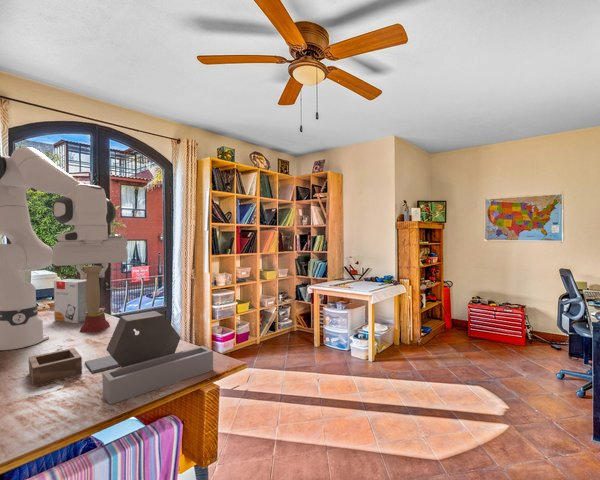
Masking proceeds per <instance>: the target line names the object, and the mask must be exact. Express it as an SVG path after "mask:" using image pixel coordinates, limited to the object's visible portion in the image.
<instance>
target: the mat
mask: <svg viewBox="0 0 600 480" xmlns="http://www.w3.org/2000/svg"><path fill="white" fill-rule="evenodd" d="M84 365H85V366H86V367H87V369H88V370H89V371H90V372H91V374H94V373H98V372H102V371H105V370H107V371H108V370H111V369H114V368H116V367H117V368H119V367H121V366H120V365H119V364H118V363H117V362H116V361H115V360H114V359H113V358H112V356H111V355H110V354H109V355H105V356H101V357H99V358H98V357H97V358H95V359H89V360H85V361H84Z"/></svg>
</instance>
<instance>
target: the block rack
mask: <svg viewBox="0 0 600 480" xmlns="http://www.w3.org/2000/svg"><path fill="white" fill-rule="evenodd" d="M212 371H214V350H212V349H211V348H208V347H206V346H204V345H200V346H196V347H194V348H189V349H186V350H182V351H177V352H175V353H174V354H170V355H167V356H163V357H159V358H155V359H152V360H148V361H144V362H141V363H137V364H133V365H129V366H126V367H117V368H115V369H112V370H111V369H110V370H107V371H104V372H102V373H101V374H102V377H101V378H102V396H103V398H104V399H105V401H106V402H107V403H108V404H109V405H113V404H116V403H119V402H123V401H125V400H127V399H132V398H135V397H137V396H140V395H143V394H146V393H149V392H152V391H155V390H158V389H161V388H163V387H164V388H165V387H167V386H170V385H172V384H176V383H179V382H182V381H185V380H187V379H191V378H194V377H197V376H200V375H203V374H205V373H208V372H212Z"/></svg>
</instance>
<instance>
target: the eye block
mask: <svg viewBox="0 0 600 480" xmlns="http://www.w3.org/2000/svg"><path fill="white" fill-rule="evenodd" d="M82 359H83V357H82V355H81V354H80V353H79V352H78V351H77V350H76V348H75V347H72V348H71V347H70V348H67V349H62V350H57V351H51V352H47V353H43V354H37V355H33V356H28V374H29V378H30V380H31V383H32V386H33V387H34V386H38V385H42V384H46V383H49V382H53V381H57V380H61V379H65V378H68V377H74V376H77V375H81V374H83V363H82V362H83V361H82Z"/></svg>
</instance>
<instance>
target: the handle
mask: <svg viewBox="0 0 600 480" xmlns="http://www.w3.org/2000/svg"><path fill="white" fill-rule="evenodd" d="M102 269H103V266H102V265H87V266H83V268H82V271H83V273H87V279H85V280H86V306H87V309H88V310H87V313H88V314H96V313H98V312H99V309H100V308H101V307H100V306H101V291H100V290H101V288H100V279H99V272H101V270H102Z"/></svg>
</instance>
